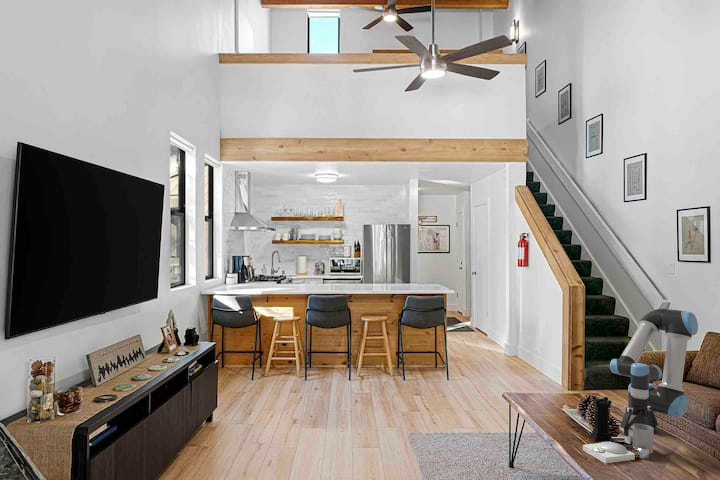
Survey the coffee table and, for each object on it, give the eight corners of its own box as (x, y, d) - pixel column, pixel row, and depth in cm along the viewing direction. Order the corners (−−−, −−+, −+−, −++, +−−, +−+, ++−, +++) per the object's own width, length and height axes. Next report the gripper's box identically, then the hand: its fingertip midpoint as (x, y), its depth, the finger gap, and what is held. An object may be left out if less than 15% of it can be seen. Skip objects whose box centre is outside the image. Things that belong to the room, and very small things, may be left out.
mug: (657, 452, 223) (657, 428, 223) (645, 455, 219) (645, 431, 219) (633, 442, 234) (633, 419, 234) (621, 445, 230) (621, 422, 230)
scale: (610, 446, 228) (610, 439, 228) (634, 459, 214) (634, 451, 214) (582, 450, 224) (582, 442, 224) (605, 463, 210) (605, 455, 210)
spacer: (643, 454, 220) (643, 446, 220) (651, 458, 216) (651, 450, 216) (635, 455, 219) (635, 447, 219) (643, 459, 214) (643, 451, 214)
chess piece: (612, 442, 233) (612, 401, 233) (594, 441, 234) (595, 400, 235) (607, 436, 240) (607, 396, 241) (590, 435, 242) (590, 395, 242)
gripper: (653, 392, 234) (652, 436, 233) (612, 396, 227) (611, 440, 226) (667, 397, 227) (666, 442, 226) (624, 401, 220) (624, 447, 219)
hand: (639, 441), depth 226 cm, fingers open, 13 cm apart
